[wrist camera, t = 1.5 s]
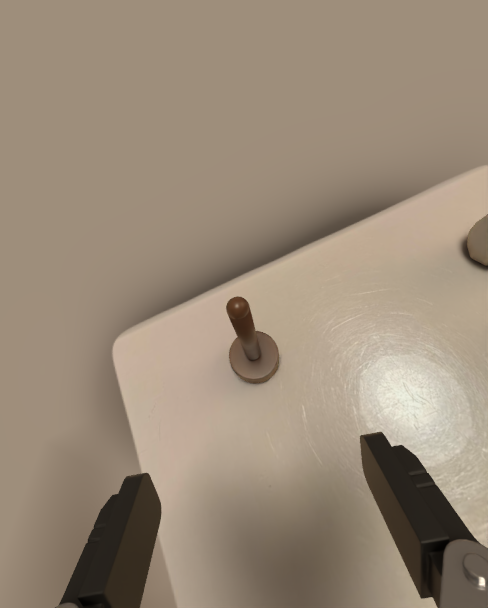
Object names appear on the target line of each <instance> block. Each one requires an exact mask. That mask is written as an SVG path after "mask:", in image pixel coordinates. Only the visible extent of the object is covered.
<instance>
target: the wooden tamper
mask: <svg viewBox="0 0 488 608" xmlns="http://www.w3.org/2000/svg"><path fill="white" fill-rule="evenodd" d="M226 310H227V314H228V316H229V318H230V320H231V323H232V325H233V327H234V330H235V332H236V334H237V336H238V337H237V338H236V339H235V341H234V342H233V344H232V346H231V348H230V352H229V359H230V363H231V366H232V368H233V369H234V371H235V372H236V374H237V375H238V376H239V377H240V378H241V379H243V380H244V381H246V382H249V383H262V382H265V381H267V380H268V379H270V378H271V377H272V376H273V375H274V374H275V372H276V370H277V368H278V364H279V354H278V348H277V345H276V343H275V342H274V340H273V339H272V338H271V337H270V336H269V335H267V334H265V333H263V332H259V331H255V327H254V323H253V319H252V315H251V311H250V307H249V304H248V302H247V301H246V300H245V299H244V298H242V297H234V298H232V299H230V300H229V302H228V303H227V306H226Z"/></svg>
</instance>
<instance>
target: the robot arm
mask: <svg viewBox="0 0 488 608" xmlns="http://www.w3.org/2000/svg"><path fill="white" fill-rule="evenodd" d="M360 444H361V455H362V466H363V471H364V475H365V478H366V481H367V483H368V486H369V488H370V490H371V492H372V494H373V496H374V499H375V501H376V503H377V505H378V507H379V509H380V511H381V514H382V516H383V518H384V520H385V522H386V524H387V526H388V529H389V531H390V533H391V535H392V537H393V539H394V541H395V544H396V546H397V548H398V550H399V552H400V554H401V556H402V559H403V561H404V563H405V565H406V567H407V569H408V571H409V574H410V576H411V578H412V580H413V582H414V584H415V586H416V589H417V591H418V593H419V595H420V597H421V598H428V597H433V599H434V601H435V603H436V605H437V607H438V608H488V548H486V547H485V546H483V545H481V544H480V543H479V542H478V541H477V540H476V539H475V538H474V537H473V535H472V534H471V533H470V531H469V530H468V529H467V527H466V526H465V524H464V523H463V521H462V520H461V519H460V517H459V516H458V514H457V513H456V512H455V510H454V509H453V507H452V506H451V505H450V503H449V502H448V500H447V499H446V497H445V496H444V495H443V493H442V492H441V490H440V489H439V488H438V486H437V485H435V482H434V481H433V479H432V478H431V476H430V475H429V473H427V472H426V469H425V468H424V466H423V465H422V464H421V462H420V461H419V459H418V458H417V457H416V456H415V455H414V454H413V453H412V452H410V451H409V450H408V449H406V448H405V447H404V446H402V445H399V446H393V447H392V446H391V445H390V443H389V442H388V440H387V439H386V437H385V435H384V434H383V433H382V432H377V433H371V434H366V435H361V436H360ZM160 520H161V503H160V499H159V497H158V494H157V492H156V489H155V487H154V485H153V482H152V480H151V477H150V475H149V474H148V473H143V474H137V475H131V476H127V477H126V478H125V479H124V481H123V484H122V486H121V489H120V491H119V494H115V495H112V496H111V497H110V499H109V500H108V501H107V503H106V504H105V505H104V507H103V508H102V509H101V511H100V513H99V515H98V518H97V520H96V522H95V525H94V529H93V530H92V532H91V534H90V536H89V538H88V543H87V544H86V545H85V547H84V550H83V552H82V554H81V556H80V559H79V561H78V563H77V566H76V568H75V570H74V573H73V575H72V577H71V579H70V582H69V584H68V586H67V589H66V591H65V593H64V595H63V598H62V600H61V602H60V604H59V605H58V606H57V607H55V608H140V604H141V600H142V595H143V592H144V587H145V583H146V579H147V575H148V570H149V566H150V562H151V558H152V553H153V549H154V544H155V541H156V536H157V532H158V528H159V524H160Z"/></svg>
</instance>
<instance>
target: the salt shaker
mask: <svg viewBox="0 0 488 608" xmlns="http://www.w3.org/2000/svg"><path fill="white" fill-rule="evenodd" d="M467 247H468V251H469V254H470V258H472V259H474V260H476V261H478V262H480V263H482V264H483V265H485V266H487V265H488V214H487V215H486V216H485V217H483V218H482V219H481V220H479V221H478V222H476V224H475V225H474V226H473V227H472V228H471V229H470V231H469V234H468V241H467Z"/></svg>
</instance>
